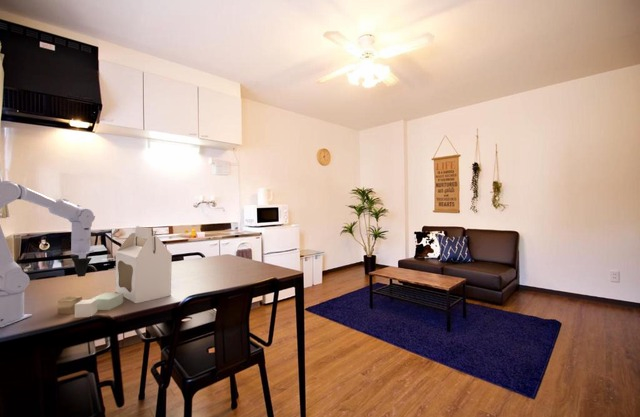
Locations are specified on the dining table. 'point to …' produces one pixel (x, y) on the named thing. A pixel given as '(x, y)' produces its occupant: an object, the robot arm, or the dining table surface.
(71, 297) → the oak cube
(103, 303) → the sage block
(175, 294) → the dining table surface
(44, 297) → the dining table surface
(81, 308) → the cream cube
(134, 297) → the gable box
